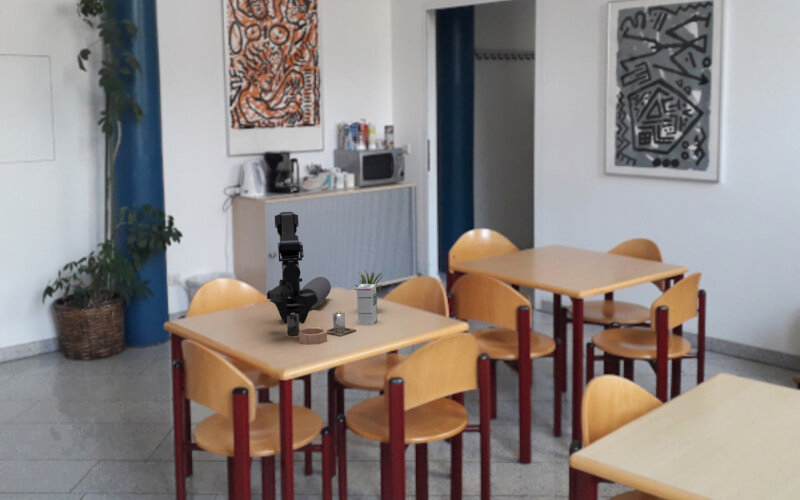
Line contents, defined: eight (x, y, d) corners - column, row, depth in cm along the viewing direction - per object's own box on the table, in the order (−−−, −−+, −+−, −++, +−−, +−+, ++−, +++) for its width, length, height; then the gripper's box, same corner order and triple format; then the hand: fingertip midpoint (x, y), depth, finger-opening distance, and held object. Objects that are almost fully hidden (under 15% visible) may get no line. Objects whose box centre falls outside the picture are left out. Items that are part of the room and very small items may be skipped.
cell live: (331, 334, 306) (330, 312, 305) (339, 331, 309) (338, 310, 308) (340, 335, 304) (339, 313, 303) (347, 333, 307) (347, 311, 306)
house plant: (398, 309, 342) (397, 267, 340) (378, 317, 331) (376, 274, 328) (367, 306, 350) (366, 264, 347) (346, 313, 338) (344, 270, 336)
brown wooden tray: (323, 336, 306) (322, 331, 306) (338, 331, 312) (338, 326, 312) (340, 339, 301) (340, 334, 301) (356, 334, 307) (356, 329, 307)
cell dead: (285, 335, 304) (284, 313, 303) (293, 332, 308) (292, 311, 306) (293, 337, 302) (292, 314, 301) (302, 334, 305) (301, 312, 304)
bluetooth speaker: (310, 299, 365) (309, 275, 363) (332, 299, 364) (331, 275, 362) (296, 312, 343) (294, 286, 341) (320, 312, 341) (319, 286, 340)
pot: (293, 344, 297) (293, 332, 296) (312, 338, 304) (312, 326, 303) (313, 348, 291) (313, 336, 290) (332, 342, 298) (332, 330, 297)
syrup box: (374, 327, 316) (372, 287, 314) (357, 327, 318) (356, 286, 315) (377, 323, 322) (376, 283, 320) (361, 323, 323) (360, 283, 321)
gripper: (253, 277, 301) (256, 322, 304) (293, 283, 290) (295, 330, 292) (277, 271, 310) (280, 316, 312) (317, 277, 298) (319, 323, 301)
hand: (292, 321), depth 304 cm, fingers open, 9 cm apart
